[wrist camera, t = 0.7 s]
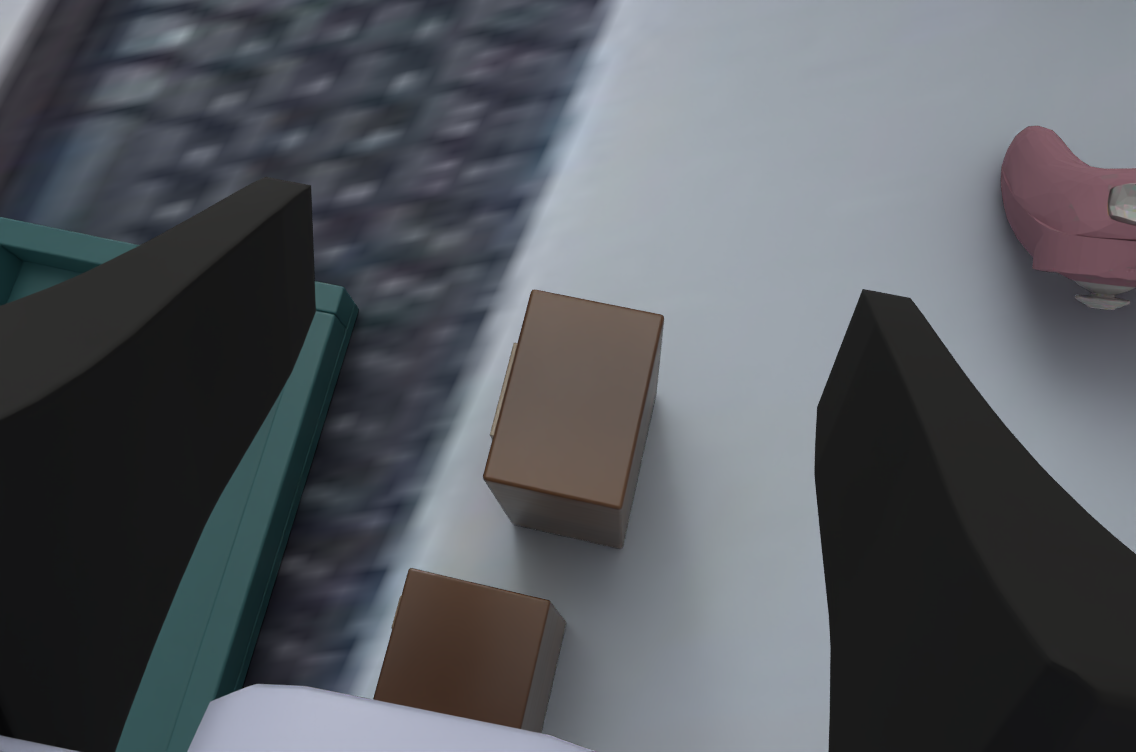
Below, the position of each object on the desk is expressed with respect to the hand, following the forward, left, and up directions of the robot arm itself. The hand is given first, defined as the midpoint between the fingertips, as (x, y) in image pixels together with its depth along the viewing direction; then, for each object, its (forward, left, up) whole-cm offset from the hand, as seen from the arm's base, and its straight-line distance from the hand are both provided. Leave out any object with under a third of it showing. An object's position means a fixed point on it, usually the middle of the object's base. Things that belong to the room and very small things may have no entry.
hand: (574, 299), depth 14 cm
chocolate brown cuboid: (-5, +2, -15) cm, 16 cm away
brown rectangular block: (+1, +1, -15) cm, 15 cm away
